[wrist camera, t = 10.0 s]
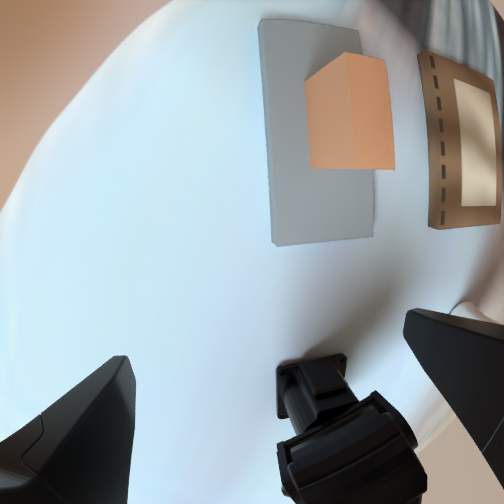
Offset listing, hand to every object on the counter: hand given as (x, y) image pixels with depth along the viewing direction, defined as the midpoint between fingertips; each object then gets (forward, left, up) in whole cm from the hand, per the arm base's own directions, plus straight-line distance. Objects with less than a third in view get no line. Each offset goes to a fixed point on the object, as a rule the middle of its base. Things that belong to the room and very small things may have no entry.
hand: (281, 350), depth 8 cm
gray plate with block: (+8, -7, -13) cm, 17 cm away
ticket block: (+8, -23, -13) cm, 28 cm away
